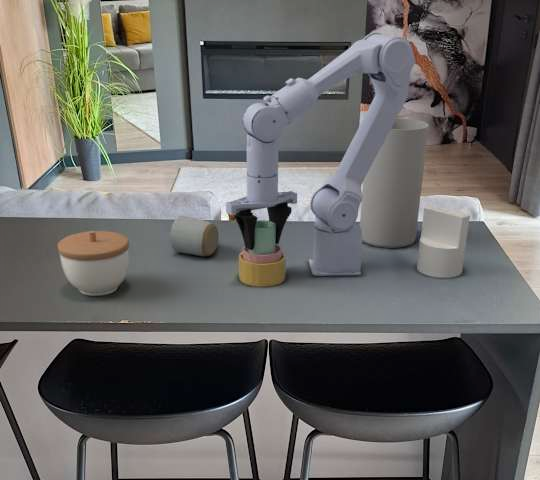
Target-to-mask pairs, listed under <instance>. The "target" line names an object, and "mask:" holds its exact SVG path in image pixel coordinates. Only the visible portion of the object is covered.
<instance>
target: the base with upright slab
mask: <svg viewBox="0 0 540 480" xmlns="http://www.w3.org/2000/svg"><path fill="white" fill-rule="evenodd" d="M470 219H471V213H467V212H464V211H459V210H454V209H450V208H446V207H442V206H437V205H434V204H431V205H426V206H425V207H424V208H423V215H422V223H421V230H420V231H421V232H420V238H419V242H418V243H419V244H418V253H417V261H416V269H417V271H418V272H419V273H421V274H423V275H425V276H428V277H432V278H440V279H441V278H442V279H447V278H454V277H459V276H460V275H462V273H463V269H464V261H465V257H466V256H465V255H466V248H467V240H468V233H469V226H470Z"/></svg>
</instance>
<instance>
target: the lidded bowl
mask: <svg viewBox="0 0 540 480" xmlns="http://www.w3.org/2000/svg"><path fill="white" fill-rule="evenodd" d="M129 247H130V242H129V239H128V237H126V235H124V234H122V233H118V232H115V231H114V232H113V231H109V230H108V231H107V230H89V231H82V232H78V233H73V234H70V235H67V236H66V237H64V238H62V239H61V240H60V241H59V242H58V243H57V251H58V253H59V259H60V265H61V268H62V271H63V274H64V276H65V278H66V279H67V281H68V282H69V283H70V284H71V286H73V287H74V288H75V289H77V290H78V291H79V292H80V293H81V294H82V295H86V296H90V297H91V296H93V297H97V296H99V297H100V296H106V295H109V294H112V293H114V292H116V291H117V290H118V288H119V286H120V285H121V284H122V283H123V282H124V280H125V279H126V278H127V277H126V276H127V274H128V271H129V265H130V250H129Z"/></svg>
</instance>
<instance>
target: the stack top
mask: <svg viewBox="0 0 540 480" xmlns="http://www.w3.org/2000/svg"><path fill="white" fill-rule="evenodd" d="M242 252H243V260H245V261H247V262H251V263H257V264H268V263H274V262H278V261H280V260H281V259H282V252H283V248H282V246H281V245H279V244H275V253H274V254H270V255H256V254H251V253H249V249H248V248H246V247H245V245H244V246H243V247H242Z"/></svg>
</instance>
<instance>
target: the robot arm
mask: <svg viewBox="0 0 540 480" xmlns="http://www.w3.org/2000/svg"><path fill="white" fill-rule="evenodd" d="M416 62H417V61H416V58H415V55H414V50H413V48H412V45H411V43H410V41H408V40H407V39H406V38H405V37H403V36H394V35H393V36H392V35H387V34H382V33H380V32H372V33H371V32H370V33H369V34H366V35H365V37H363V39H359V40H357V41H355V42H354V43H353V44H352V45H351V46H350V47H349V48H347V50H344V52H342V53H341V54H340V55H338V56H337V57H336V58H334V59H333V60H332V61H331V62H329V63H327V64H326V65H325V66H324V67H323V68H321V69H320V70H319V71H318V72H316V73H314V75H311V76H310V77H309V78H307V79H306V78H302V77H296V78H295V79H294V78H291V77H290V78H289V79H287V80H286V81H285V86H283V87H282V88H280V89H279V90H277V91H276V92H274V93H273V94H272V95H265V96H264V97H262V98H263V102H256V103H253V104H251V105H250V106H248V107H247V108H246V110H245V112H244V114H243V118H241V126H242V129H243V130H244V131H245V133H246V196H243V197H240V198H237V199H235V200H231V201H227V202H225V214H228V215H229V216H233V218H234V219H235V221H236V223H237V225H238V228H239V230H240V233H241V236H242V240H243V244H244V246H245V247H246V248H248V249H250V250H253V249H254V233H255V226H256V222H257V221H258V217H257V215H254V213H253V212H252V211H256V210H262V209H266V210H267V215H268V221H271V222H274V223H275V224H276V242H275V244H277V245H279V244H280V240H281V237H282V233H283V230H284V227H285V225H286V222H287V220H288V219H289V217H290V215H291V214H292V207H291V206H289V204H291V205H295V204H298V193H297V192H295V191H292V190H290V191H289V190H288V191H279V139H280V138H281V136H283V133H284V131H285V128H286V127H288V126H289V125H290V124H292V123H293V122H295V121H297V120H298V119H300V118H301V117H303V116H304V115H306V114H307V113H309V112H310V111H311V110H313V109H314V108H315V107H316V106H317V102H318V98H319V96H321V95H324V93H326V92H329V91H330V90H332V89H333V88H334V87H336V86H338V85H340V84H341V83H343V82H344V81H346V80H348V79H349V78H351V77H353V76H354V75H357V74H367V75H368V76H369V78H370V80H371V83H372V86H373V89H374V92H375V95H374V97H373V99H372V101H371V103H370V104H369V107H368V109H367V111H366V113H365V115H364V116H363V119H362V120H361V122H360V125H358V129H357V130H356V132H355V134H354V136H353V138H352V140H351V141H350V144H349V146H348V148H347V149H346V152H345V153H344V155H343V157H342V158H341V159H342V160H341V161H340V163H339V166H337V169H336V171H335V172H334V173H332V174H330V175H329V176H328V177H326V178H325V180H324V181H323V183H322V185H321V186H320V187H319V188H318V189H317V190H315V191H314V193H313V194H312V195H311V198H310V201H309V208H310V210H311V213H312V214H313V215H314V216H315V219H314V223H313V225H314V226H313V228H314V229H313V250H312V252H313V253H312V258H311V259H309V260H308V263H309V267H310V270H311V273H312V276H314V277H323V276H325V277H327V276H330V277H331V276H332V277H333V276H360V275H361V273H362V272H361V267H362V251H363V241H362V230H361V227H360V225H354V224H355V223H356V222H357V220H358V216H359V208H360V206H361V203H362V185H363V181H364V179H365V177H366V175H367V173H368V171H369V169H370V167H371V165H372V164H373V162H374V160H375V158H376V156H377V154H378V152H379V150H380V148H381V147H382V145H383V143H384V141H385V139H386V137H387V135H388V133H389V131H390V130H391V128H392V126H393V124H394V122H395V120H396V118H398V116H399V114H400V113H401V111H402V109H403V107H404V105H405V103H406V102H407V99H408V96H409V89H410V82H411V81H410V80H411V72H412V70H413V68H414V67H415V64H416Z"/></svg>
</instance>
